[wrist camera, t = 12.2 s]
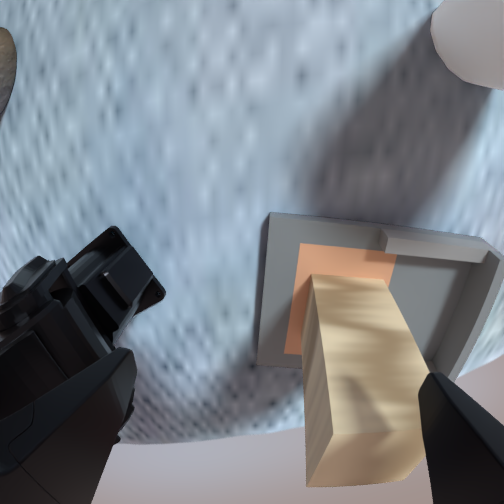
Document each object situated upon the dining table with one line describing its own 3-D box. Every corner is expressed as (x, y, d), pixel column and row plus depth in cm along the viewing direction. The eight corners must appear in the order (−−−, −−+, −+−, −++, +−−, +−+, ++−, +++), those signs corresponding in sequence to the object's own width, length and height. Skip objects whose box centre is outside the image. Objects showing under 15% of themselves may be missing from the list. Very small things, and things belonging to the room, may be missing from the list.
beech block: (300, 334, 22) (306, 487, 12) (311, 273, 20) (333, 433, 10) (365, 337, 22) (403, 480, 11) (383, 279, 20) (451, 424, 9)
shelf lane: (257, 356, 25) (253, 393, 21) (270, 212, 20) (267, 235, 16) (433, 361, 24) (447, 392, 21) (481, 237, 19) (509, 260, 16)
